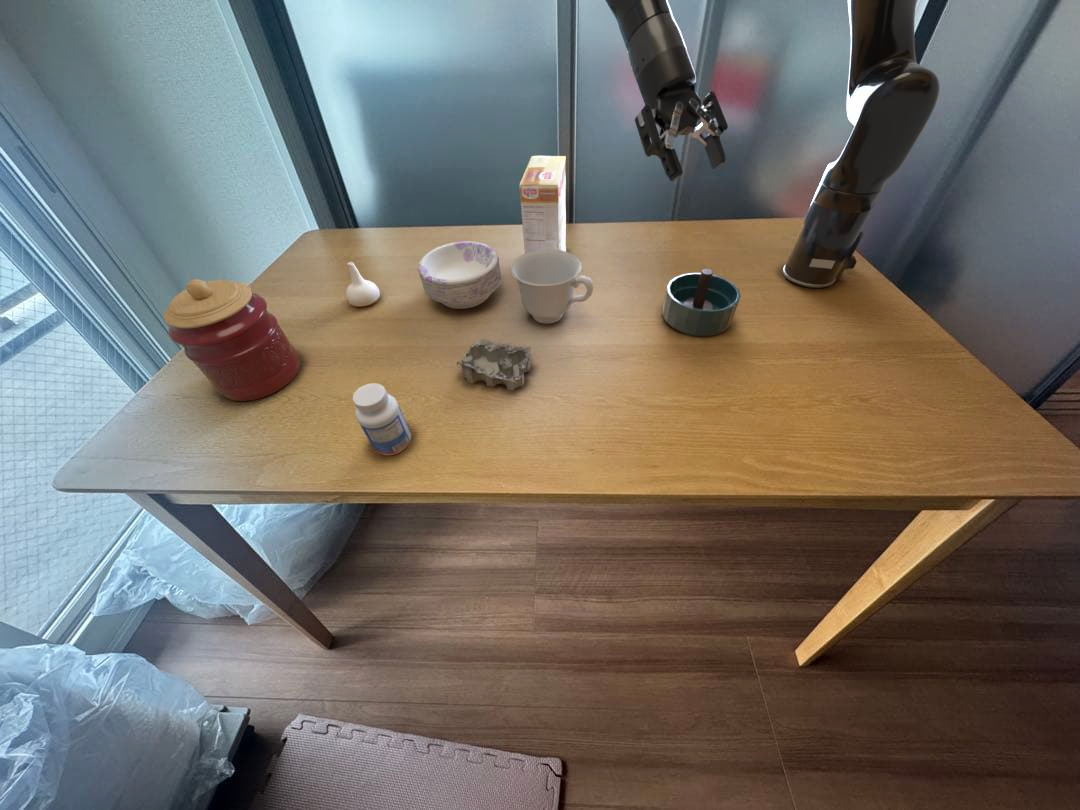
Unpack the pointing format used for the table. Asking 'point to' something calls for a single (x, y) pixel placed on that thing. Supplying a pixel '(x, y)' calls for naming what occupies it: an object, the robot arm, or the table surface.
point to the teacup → (549, 283)
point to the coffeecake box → (544, 203)
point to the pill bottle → (381, 419)
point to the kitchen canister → (232, 338)
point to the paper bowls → (460, 274)
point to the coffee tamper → (701, 292)
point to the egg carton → (496, 364)
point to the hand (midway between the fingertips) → (698, 171)
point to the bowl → (700, 320)
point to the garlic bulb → (360, 289)
